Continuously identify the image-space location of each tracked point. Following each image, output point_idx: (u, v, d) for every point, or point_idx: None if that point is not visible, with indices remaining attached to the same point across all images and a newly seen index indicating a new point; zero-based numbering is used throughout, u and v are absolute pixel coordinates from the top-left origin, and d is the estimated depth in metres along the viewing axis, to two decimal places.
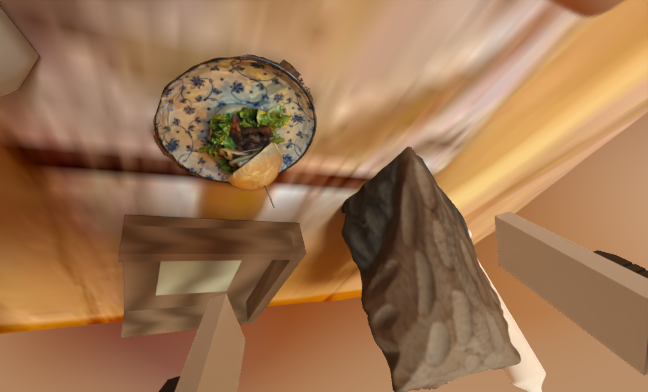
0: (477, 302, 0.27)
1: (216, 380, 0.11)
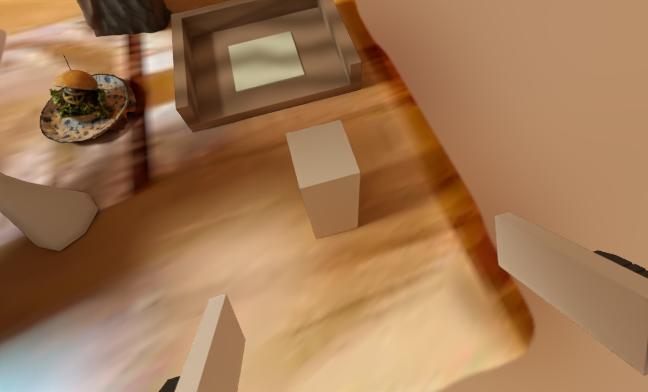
0: None
1: (216, 380, 0.11)
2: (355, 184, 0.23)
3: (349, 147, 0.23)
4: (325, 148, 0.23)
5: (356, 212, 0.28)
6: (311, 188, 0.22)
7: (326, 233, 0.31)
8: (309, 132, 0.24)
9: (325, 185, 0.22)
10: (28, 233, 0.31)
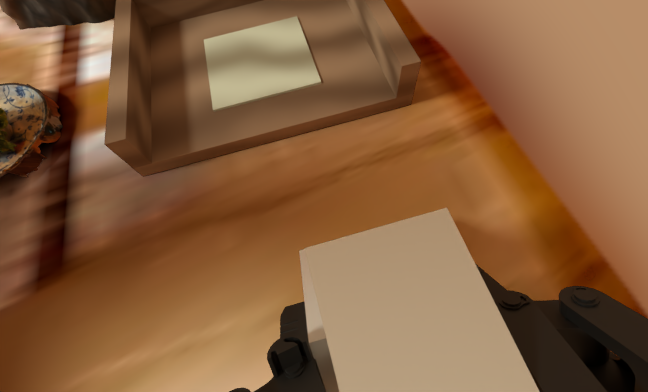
0: None
1: None
2: None
3: (489, 301, 0.08)
4: (418, 301, 0.08)
5: None
6: None
7: None
8: (368, 248, 0.09)
9: None
10: None
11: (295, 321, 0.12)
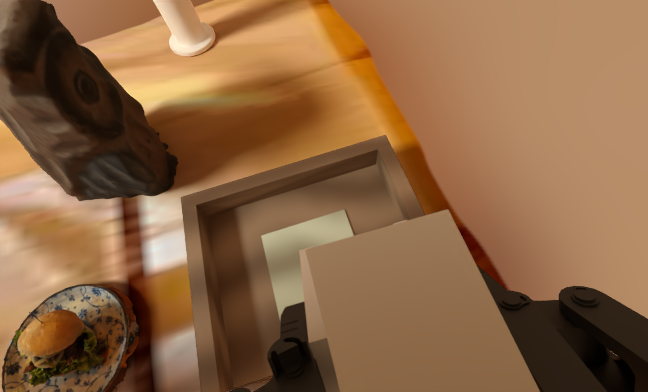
0: None
1: None
2: None
3: (490, 303, 0.08)
4: (420, 303, 0.08)
5: None
6: None
7: None
8: (369, 249, 0.09)
9: None
10: None
11: (295, 321, 0.12)
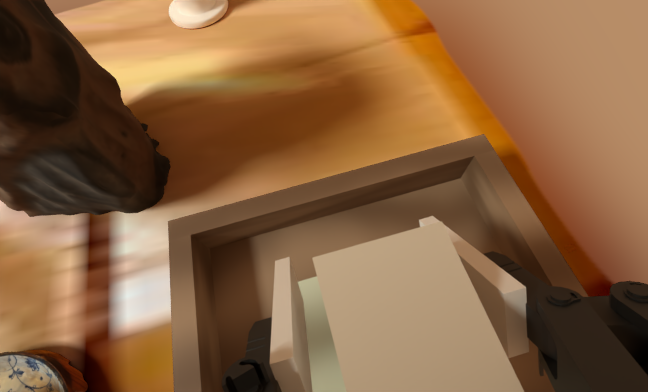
0: None
1: (297, 321, 0.12)
2: None
3: (479, 306, 0.09)
4: (416, 307, 0.09)
5: None
6: None
7: None
8: (370, 257, 0.10)
9: None
10: None
11: (263, 338, 0.12)
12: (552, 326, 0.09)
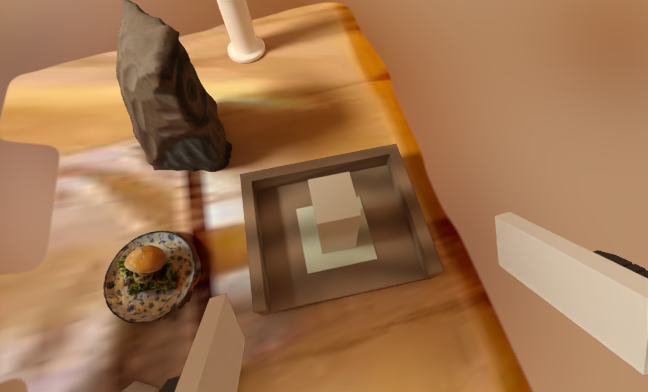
0: None
1: (216, 380, 0.11)
2: (356, 221, 0.31)
3: (354, 194, 0.31)
4: (336, 194, 0.31)
5: (355, 237, 0.36)
6: (324, 224, 0.30)
7: (330, 251, 0.39)
8: (325, 180, 0.32)
9: (335, 222, 0.30)
10: None
11: None
12: None
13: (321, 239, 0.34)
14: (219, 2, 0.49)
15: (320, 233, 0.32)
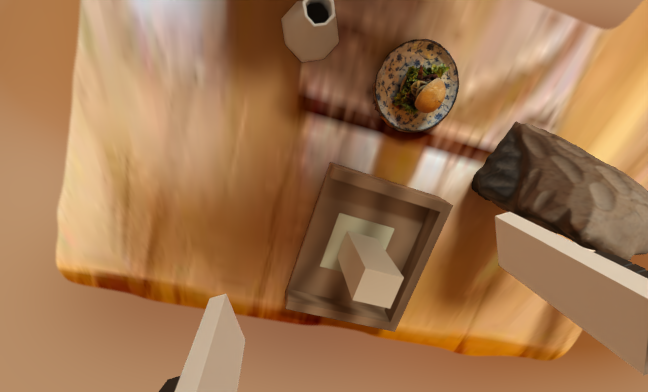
0: (622, 172, 0.33)
1: (216, 380, 0.11)
2: (350, 290, 0.38)
3: (370, 303, 0.37)
4: (378, 292, 0.37)
5: (342, 268, 0.43)
6: (362, 271, 0.36)
7: (345, 239, 0.46)
8: (394, 289, 0.37)
9: (358, 279, 0.37)
10: (296, 7, 0.36)
11: None
12: None
13: (355, 250, 0.40)
14: None
15: (359, 257, 0.38)
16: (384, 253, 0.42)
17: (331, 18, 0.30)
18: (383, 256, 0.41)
